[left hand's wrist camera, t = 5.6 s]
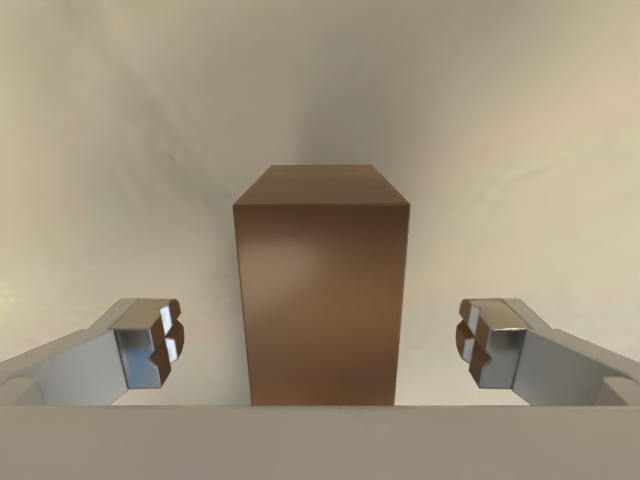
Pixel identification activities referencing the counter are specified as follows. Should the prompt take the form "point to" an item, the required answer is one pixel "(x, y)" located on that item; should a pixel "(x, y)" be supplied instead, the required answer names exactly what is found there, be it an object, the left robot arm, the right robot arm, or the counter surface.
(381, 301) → the box
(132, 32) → the counter surface
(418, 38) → the counter surface
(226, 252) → the counter surface
